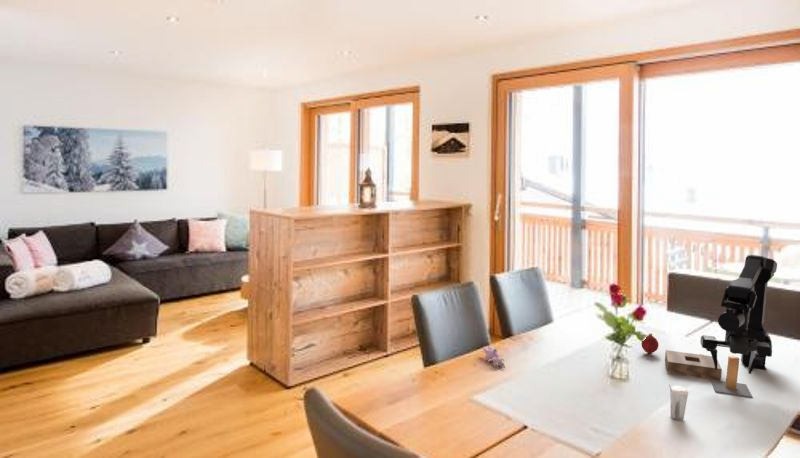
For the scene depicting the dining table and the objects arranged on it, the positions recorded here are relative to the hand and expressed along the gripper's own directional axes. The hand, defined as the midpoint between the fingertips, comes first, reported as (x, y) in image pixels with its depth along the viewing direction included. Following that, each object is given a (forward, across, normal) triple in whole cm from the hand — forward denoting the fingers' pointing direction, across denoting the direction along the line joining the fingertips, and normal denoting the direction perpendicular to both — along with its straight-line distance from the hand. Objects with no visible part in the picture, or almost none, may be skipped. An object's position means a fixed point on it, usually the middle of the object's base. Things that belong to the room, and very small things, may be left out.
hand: (732, 371), depth 170 cm
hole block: (+6, -10, +12) cm, 17 cm away
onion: (+6, -23, +23) cm, 33 cm away
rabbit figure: (+6, -75, -9) cm, 76 cm away
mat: (+6, 0, 0) cm, 6 cm away
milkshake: (+6, -18, -29) cm, 35 cm away
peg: (+6, 0, 0) cm, 6 cm away
